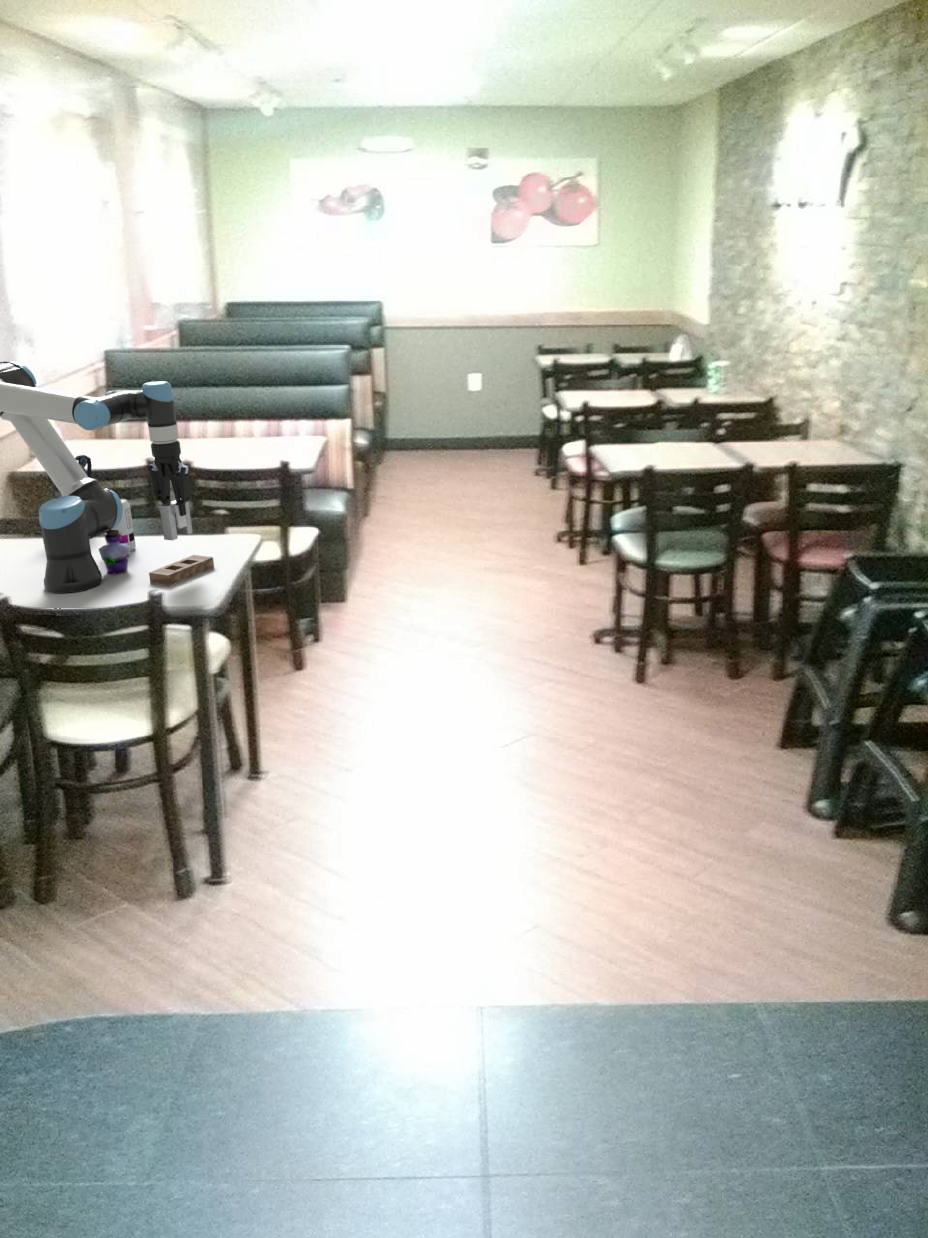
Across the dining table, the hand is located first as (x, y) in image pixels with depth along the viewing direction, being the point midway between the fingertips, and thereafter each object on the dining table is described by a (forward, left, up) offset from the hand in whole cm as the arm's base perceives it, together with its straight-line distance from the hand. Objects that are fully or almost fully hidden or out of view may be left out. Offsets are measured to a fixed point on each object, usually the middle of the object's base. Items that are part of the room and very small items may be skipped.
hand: (177, 526), depth 313 cm
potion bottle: (-4, +21, -14) cm, 26 cm away
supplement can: (+13, +36, -14) cm, 41 cm away
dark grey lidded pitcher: (+24, +65, -14) cm, 71 cm away
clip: (0, 0, -3) cm, 3 cm away
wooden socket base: (0, 0, -14) cm, 14 cm away
